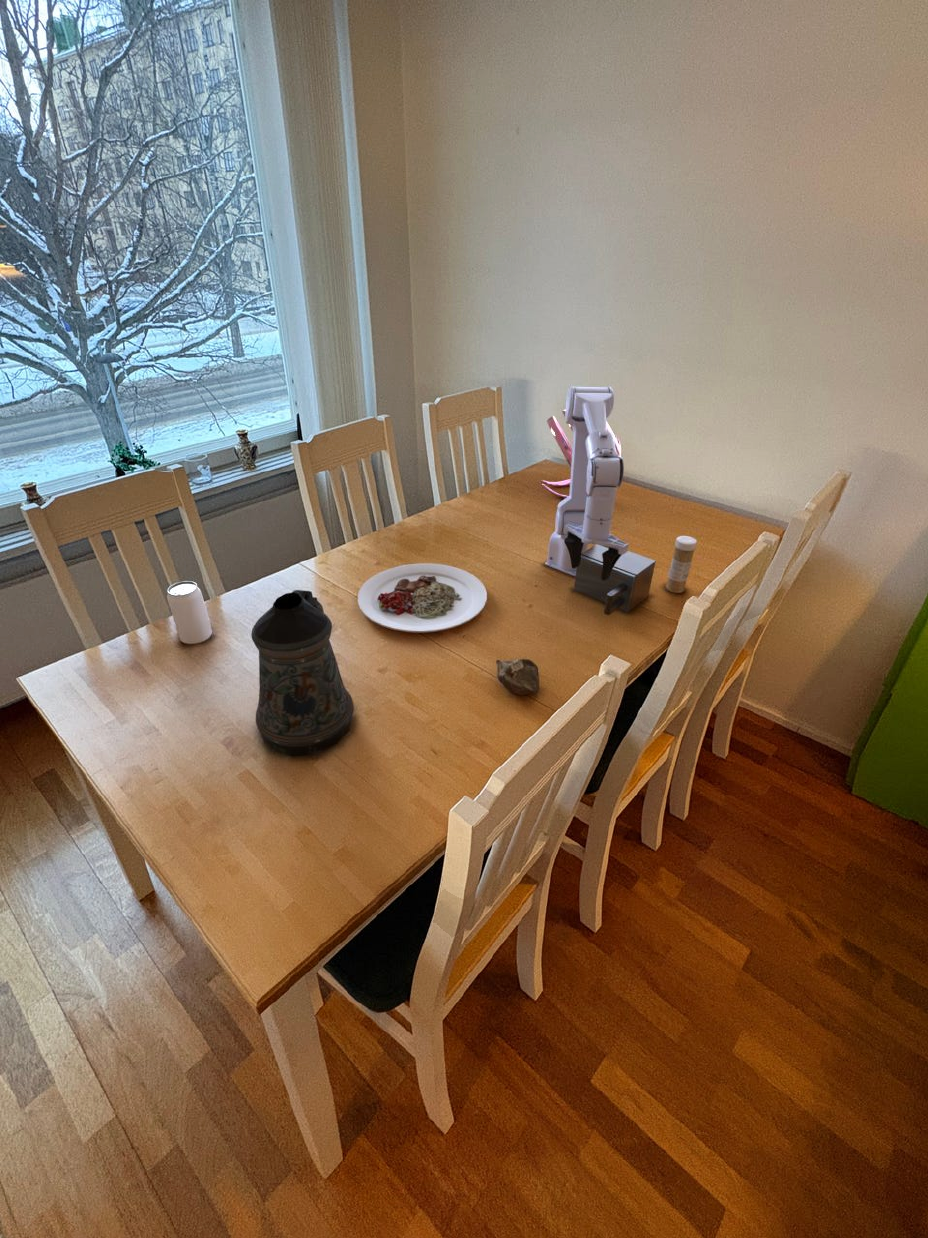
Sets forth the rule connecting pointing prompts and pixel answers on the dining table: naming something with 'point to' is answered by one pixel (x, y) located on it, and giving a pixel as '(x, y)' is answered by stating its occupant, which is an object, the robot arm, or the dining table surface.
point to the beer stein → (299, 678)
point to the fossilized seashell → (519, 676)
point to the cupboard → (629, 570)
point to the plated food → (422, 597)
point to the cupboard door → (604, 585)
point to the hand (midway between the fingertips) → (590, 572)
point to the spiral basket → (568, 450)
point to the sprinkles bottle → (681, 564)
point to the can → (189, 612)
